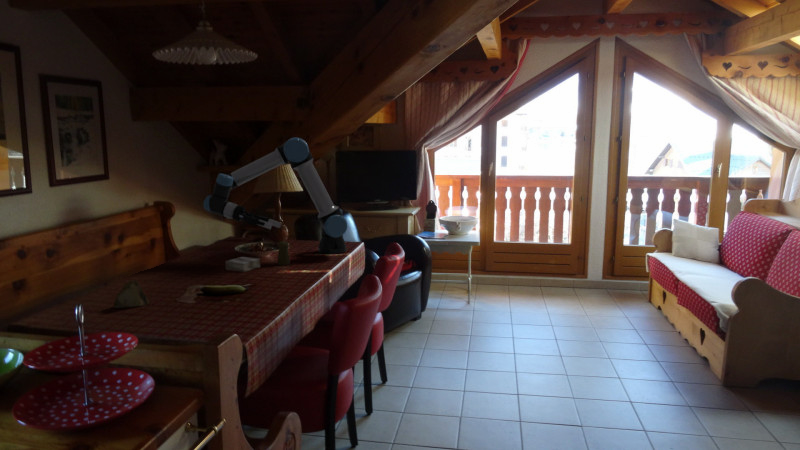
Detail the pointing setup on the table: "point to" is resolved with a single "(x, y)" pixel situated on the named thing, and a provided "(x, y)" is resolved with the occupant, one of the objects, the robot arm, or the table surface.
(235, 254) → the table surface
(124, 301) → the rock
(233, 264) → the white stand
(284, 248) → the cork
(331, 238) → the robot arm
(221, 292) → the brown green uneven piece
